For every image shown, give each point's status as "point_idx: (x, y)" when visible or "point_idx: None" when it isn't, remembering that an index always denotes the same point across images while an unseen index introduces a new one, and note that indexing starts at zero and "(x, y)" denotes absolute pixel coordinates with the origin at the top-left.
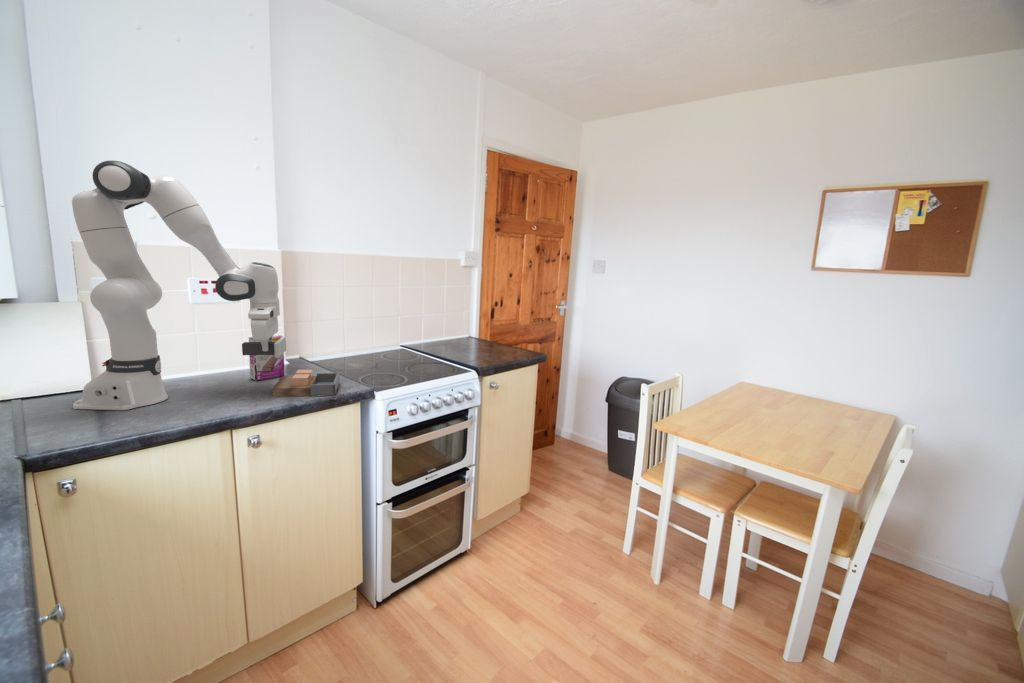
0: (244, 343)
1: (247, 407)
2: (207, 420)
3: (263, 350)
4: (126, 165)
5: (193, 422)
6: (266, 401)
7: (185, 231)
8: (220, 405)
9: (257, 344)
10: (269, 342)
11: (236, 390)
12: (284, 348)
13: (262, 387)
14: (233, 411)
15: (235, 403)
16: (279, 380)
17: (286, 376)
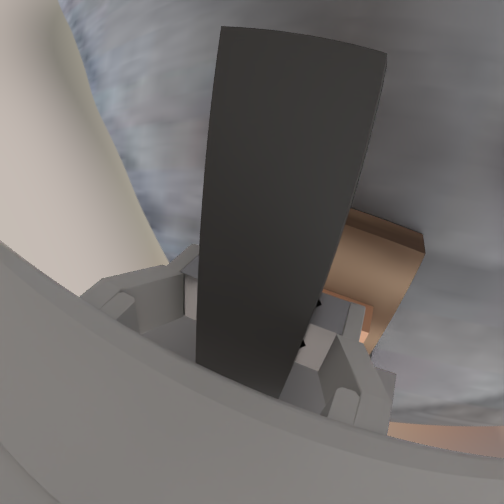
0: (254, 59)
1: (147, 98)
2: (81, 30)
3: (193, 251)
4: None
5: (77, 6)
6: (194, 151)
7: None
8: (180, 10)
9: (205, 235)
10: (266, 361)
11: (385, 33)
12: None
13: (405, 146)
14: (122, 67)
15: (191, 51)
16: (354, 230)
17: (416, 270)
